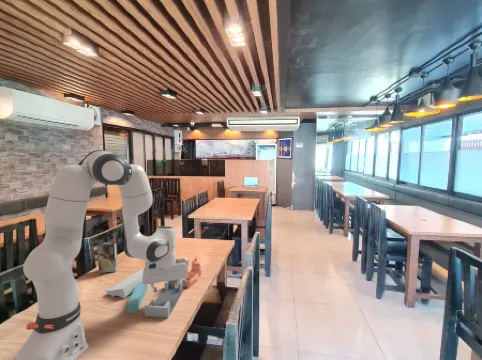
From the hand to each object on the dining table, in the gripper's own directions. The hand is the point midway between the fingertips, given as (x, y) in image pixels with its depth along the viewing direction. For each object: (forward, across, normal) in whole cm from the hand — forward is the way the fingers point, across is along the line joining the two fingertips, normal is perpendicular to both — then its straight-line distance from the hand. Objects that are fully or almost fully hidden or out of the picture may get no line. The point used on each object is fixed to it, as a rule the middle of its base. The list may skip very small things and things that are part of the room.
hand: (165, 289), depth 115 cm
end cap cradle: (+6, -1, 0) cm, 6 cm away
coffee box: (+6, +28, -46) cm, 54 cm away
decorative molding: (+6, +15, -28) cm, 33 cm away
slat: (+6, +12, -5) cm, 14 cm away
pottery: (+6, -15, -17) cm, 23 cm away
